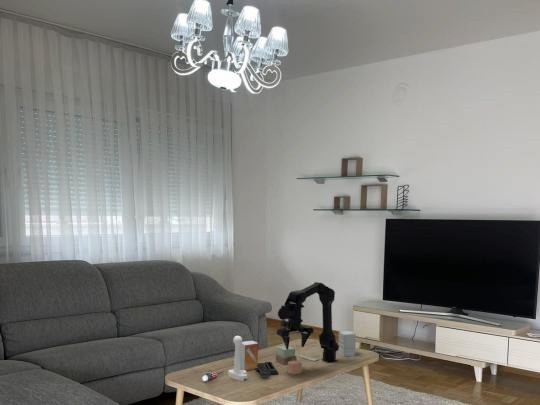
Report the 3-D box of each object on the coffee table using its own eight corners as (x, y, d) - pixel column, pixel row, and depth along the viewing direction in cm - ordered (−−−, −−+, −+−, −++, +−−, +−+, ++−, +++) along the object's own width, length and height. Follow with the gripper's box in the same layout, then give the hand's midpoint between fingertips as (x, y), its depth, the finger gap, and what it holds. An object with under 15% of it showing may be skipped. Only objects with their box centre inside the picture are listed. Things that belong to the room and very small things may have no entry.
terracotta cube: (295, 370, 253) (296, 360, 253) (301, 373, 248) (301, 363, 248) (287, 371, 250) (287, 361, 250) (293, 374, 246) (293, 364, 246)
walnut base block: (288, 359, 271) (288, 352, 271) (296, 363, 264) (296, 356, 264) (275, 361, 267) (275, 354, 267) (283, 365, 260) (283, 358, 260)
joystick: (226, 375, 242) (227, 334, 242) (238, 372, 247) (239, 331, 247) (240, 381, 234) (241, 338, 234) (252, 378, 238) (253, 336, 239)
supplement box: (349, 352, 287) (350, 330, 288) (355, 356, 280) (355, 333, 280) (338, 353, 285) (338, 331, 286) (343, 356, 278) (343, 334, 278)
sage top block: (287, 352, 271) (288, 345, 271) (294, 356, 265) (295, 348, 265) (276, 354, 267) (277, 346, 267) (283, 357, 261) (283, 350, 261)
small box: (244, 371, 249) (244, 345, 249) (238, 367, 254) (238, 342, 255) (257, 368, 254) (258, 343, 254) (251, 365, 259) (252, 340, 259)
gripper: (302, 312, 262) (301, 342, 261) (271, 315, 252) (270, 346, 252) (314, 316, 252) (313, 347, 252) (283, 319, 243) (282, 352, 242)
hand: (294, 348), depth 250 cm, fingers open, 9 cm apart
